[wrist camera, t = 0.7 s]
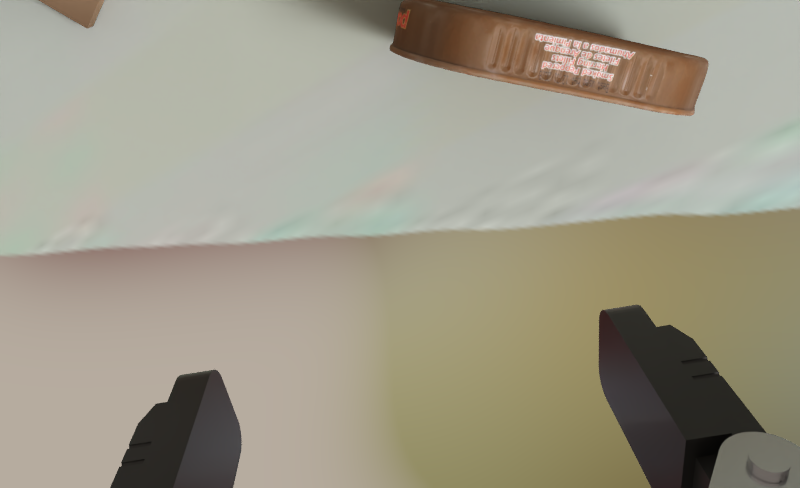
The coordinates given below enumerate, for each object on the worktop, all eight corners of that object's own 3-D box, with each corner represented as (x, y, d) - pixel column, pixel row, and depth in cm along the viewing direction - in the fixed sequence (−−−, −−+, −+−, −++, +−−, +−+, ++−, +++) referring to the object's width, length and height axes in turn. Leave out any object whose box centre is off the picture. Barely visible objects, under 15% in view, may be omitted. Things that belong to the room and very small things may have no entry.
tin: (383, 42, 32) (394, 76, 25) (395, -22, 31) (410, -6, 24) (643, 94, 35) (723, 139, 27) (664, 37, 33) (756, 69, 26)
